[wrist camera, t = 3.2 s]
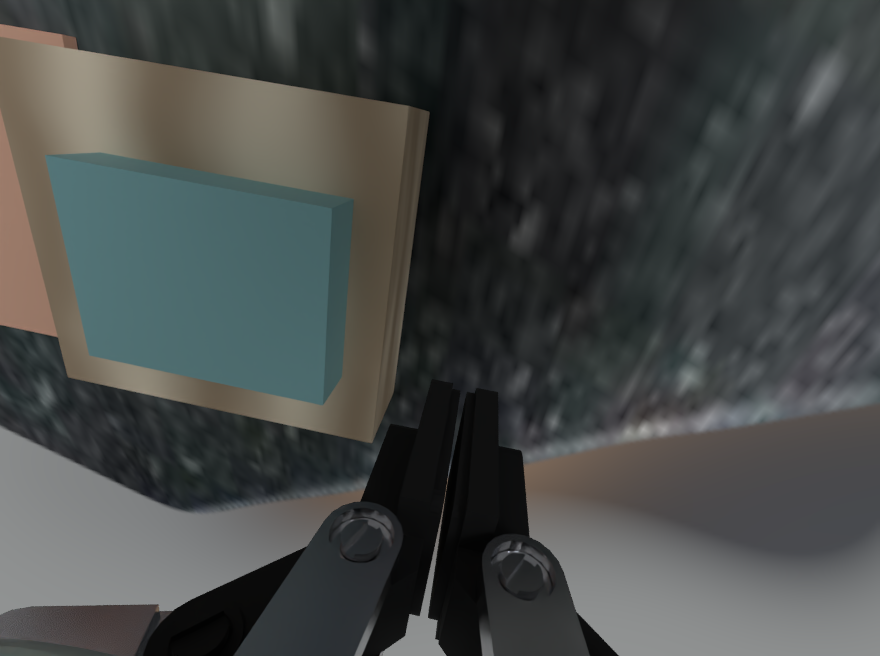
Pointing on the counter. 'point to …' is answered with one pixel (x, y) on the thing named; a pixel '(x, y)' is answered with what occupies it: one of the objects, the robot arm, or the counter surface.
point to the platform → (238, 155)
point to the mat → (21, 227)
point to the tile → (207, 272)
